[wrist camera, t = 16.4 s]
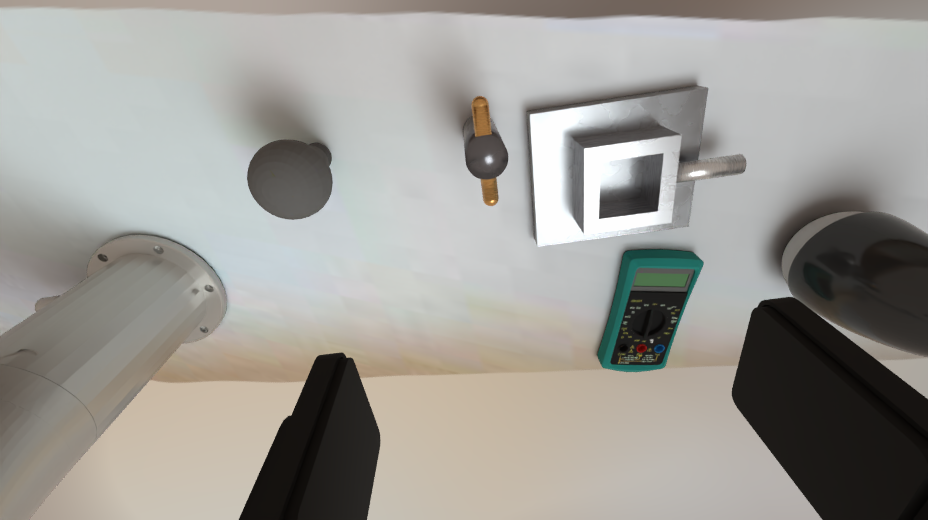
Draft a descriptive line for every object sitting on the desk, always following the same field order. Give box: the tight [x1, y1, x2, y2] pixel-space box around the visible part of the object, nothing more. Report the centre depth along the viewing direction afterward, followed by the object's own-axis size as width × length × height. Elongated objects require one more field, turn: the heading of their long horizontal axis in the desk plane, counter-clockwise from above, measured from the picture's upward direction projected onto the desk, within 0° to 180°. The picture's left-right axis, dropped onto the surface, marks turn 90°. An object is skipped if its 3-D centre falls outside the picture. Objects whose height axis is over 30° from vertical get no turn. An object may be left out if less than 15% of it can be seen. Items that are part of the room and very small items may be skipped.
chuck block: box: [527, 86, 746, 247], centre depth 34 cm, size 16×12×5 cm
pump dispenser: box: [782, 211, 928, 357], centre depth 34 cm, size 10×10×15 cm
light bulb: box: [247, 140, 332, 220], centre depth 31 cm, size 6×6×10 cm
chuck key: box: [463, 96, 508, 206], centre depth 31 cm, size 8×3×9 cm, turn 8°
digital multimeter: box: [597, 249, 704, 372], centre depth 43 cm, size 7×15×3 cm, turn 178°
